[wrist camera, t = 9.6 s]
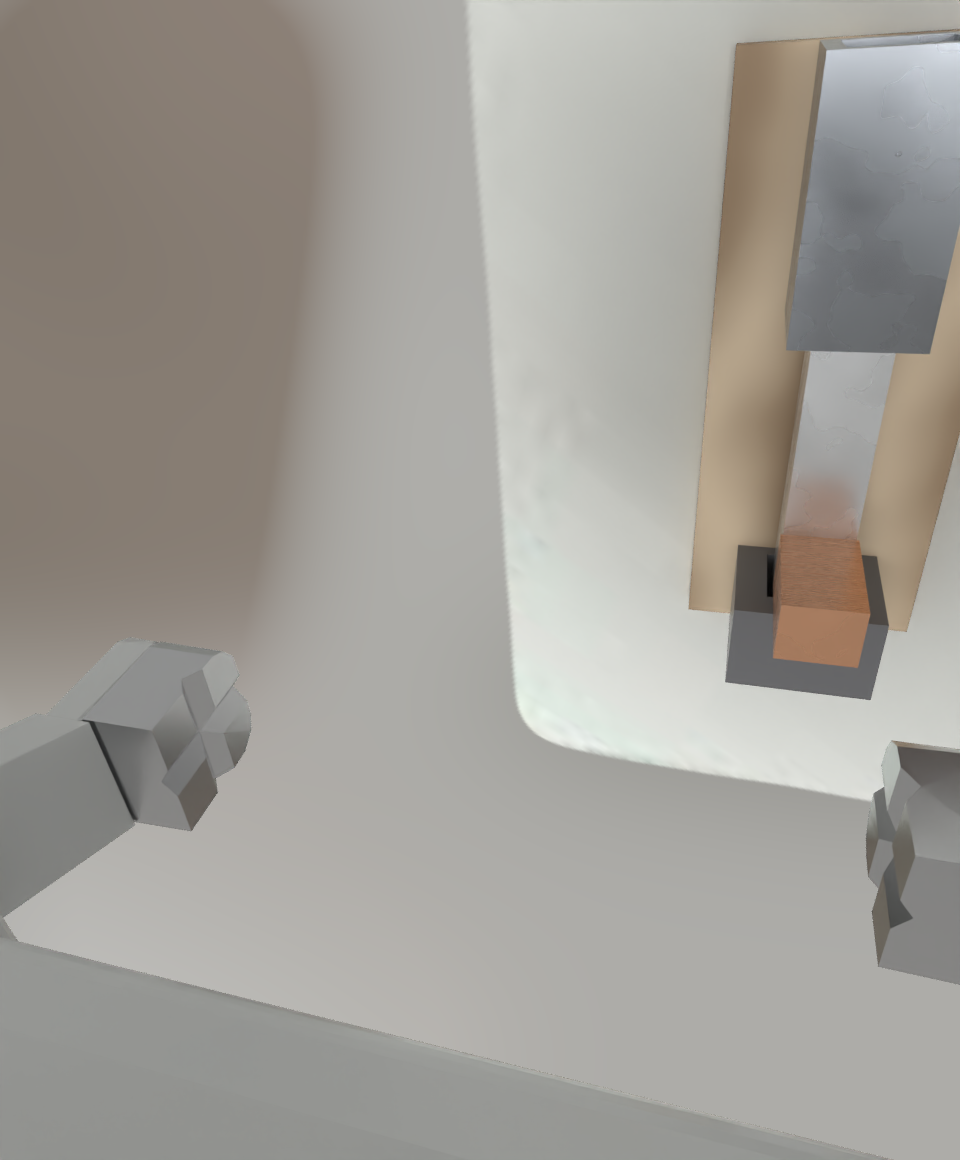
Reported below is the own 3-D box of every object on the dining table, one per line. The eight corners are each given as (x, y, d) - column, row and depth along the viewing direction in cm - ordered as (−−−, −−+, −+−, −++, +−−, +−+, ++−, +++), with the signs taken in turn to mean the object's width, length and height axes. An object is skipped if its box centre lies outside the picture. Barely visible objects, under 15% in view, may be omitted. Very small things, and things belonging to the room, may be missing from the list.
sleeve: (972, 30, 27) (1002, 39, 24) (912, 311, 33) (929, 354, 29) (819, 40, 29) (826, 50, 25) (784, 309, 34) (786, 350, 30)
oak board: (1060, 22, 28) (1068, 24, 27) (903, 619, 41) (906, 631, 40) (737, 43, 30) (736, 45, 29) (690, 597, 44) (688, 609, 43)
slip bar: (900, 278, 31) (931, 354, 25) (832, 613, 40) (843, 730, 34) (812, 277, 32) (822, 350, 26) (764, 606, 41) (763, 719, 34)
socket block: (876, 556, 39) (889, 625, 34) (860, 626, 41) (870, 700, 37) (738, 544, 40) (734, 610, 36) (730, 613, 42) (725, 682, 38)
